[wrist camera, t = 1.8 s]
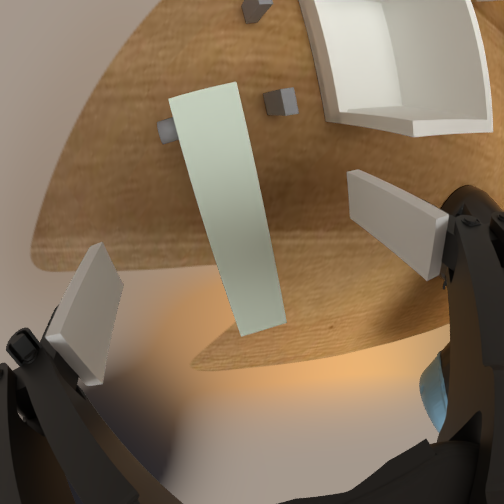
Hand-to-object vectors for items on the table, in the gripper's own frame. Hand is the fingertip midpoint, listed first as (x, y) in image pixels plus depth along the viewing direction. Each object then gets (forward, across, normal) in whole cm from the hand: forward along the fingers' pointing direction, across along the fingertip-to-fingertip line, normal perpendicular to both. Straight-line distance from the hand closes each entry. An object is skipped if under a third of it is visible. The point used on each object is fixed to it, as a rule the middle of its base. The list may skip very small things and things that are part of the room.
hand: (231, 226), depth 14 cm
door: (+12, 0, 0) cm, 12 cm away
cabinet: (+12, -14, -10) cm, 20 cm away
